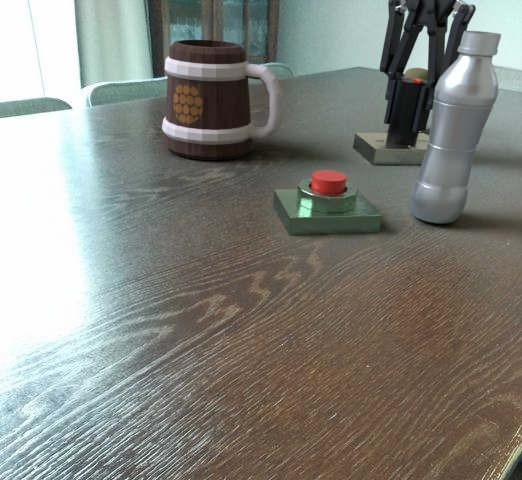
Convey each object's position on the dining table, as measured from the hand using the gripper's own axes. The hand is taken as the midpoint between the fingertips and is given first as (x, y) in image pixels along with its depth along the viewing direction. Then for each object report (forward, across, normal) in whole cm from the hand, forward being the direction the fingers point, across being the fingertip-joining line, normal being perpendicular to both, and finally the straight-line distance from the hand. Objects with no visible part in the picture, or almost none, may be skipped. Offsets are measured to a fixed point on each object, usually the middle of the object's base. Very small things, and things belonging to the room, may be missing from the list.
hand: (404, 126), depth 82 cm
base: (+5, 0, 0) cm, 5 cm away
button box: (+5, +12, -31) cm, 34 cm away
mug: (+5, -18, -24) cm, 31 cm away
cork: (+5, -10, +16) cm, 20 cm away
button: (+1, +12, -31) cm, 33 cm away
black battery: (+2, 0, 0) cm, 2 cm away
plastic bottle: (+5, +20, -20) cm, 28 cm away
